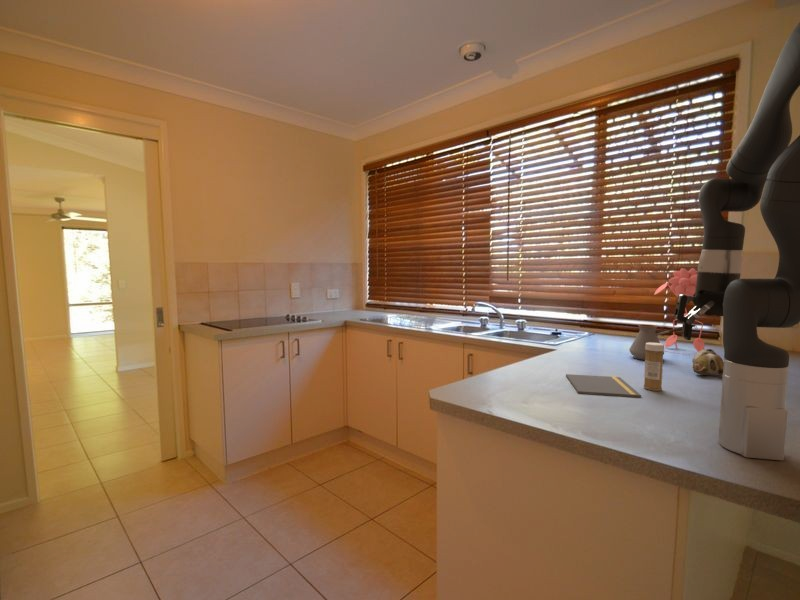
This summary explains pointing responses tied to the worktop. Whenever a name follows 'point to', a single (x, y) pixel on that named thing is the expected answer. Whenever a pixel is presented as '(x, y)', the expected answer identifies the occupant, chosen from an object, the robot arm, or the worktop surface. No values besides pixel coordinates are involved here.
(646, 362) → the sprinkles bottle
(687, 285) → the pink flower figure
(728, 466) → the worktop surface
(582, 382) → the line mat
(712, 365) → the ceramic sculpture
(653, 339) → the coffee pot
